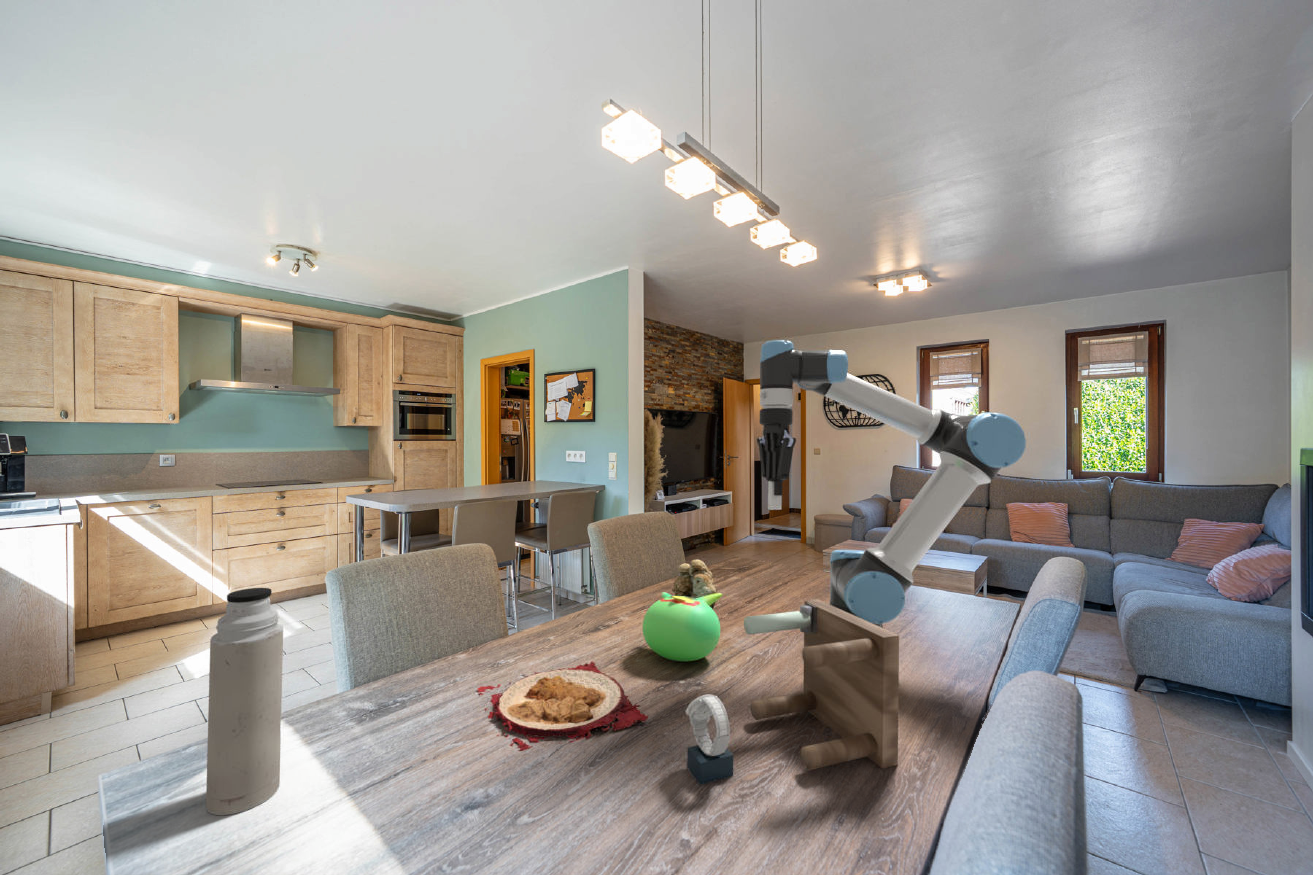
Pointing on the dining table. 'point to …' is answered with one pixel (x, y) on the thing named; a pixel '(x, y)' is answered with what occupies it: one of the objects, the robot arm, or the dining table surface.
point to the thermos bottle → (244, 704)
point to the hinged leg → (780, 621)
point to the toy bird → (682, 627)
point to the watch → (709, 741)
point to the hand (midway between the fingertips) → (774, 509)
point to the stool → (845, 688)
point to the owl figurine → (694, 581)
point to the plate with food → (563, 704)
